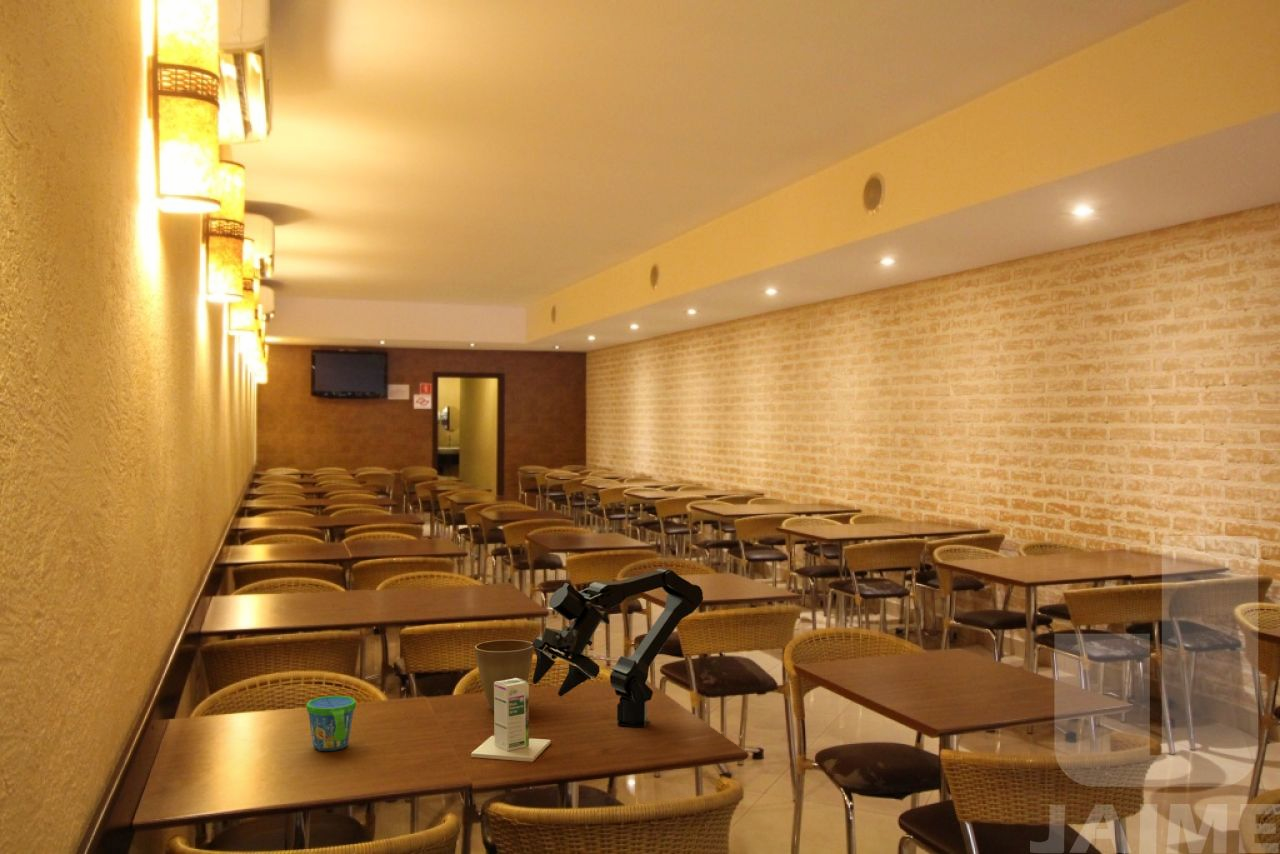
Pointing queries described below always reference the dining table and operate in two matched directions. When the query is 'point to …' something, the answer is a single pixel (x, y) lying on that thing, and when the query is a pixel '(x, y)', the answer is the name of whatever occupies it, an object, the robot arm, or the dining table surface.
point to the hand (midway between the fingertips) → (546, 689)
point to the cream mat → (519, 754)
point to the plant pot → (503, 663)
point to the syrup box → (511, 714)
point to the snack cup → (331, 721)
